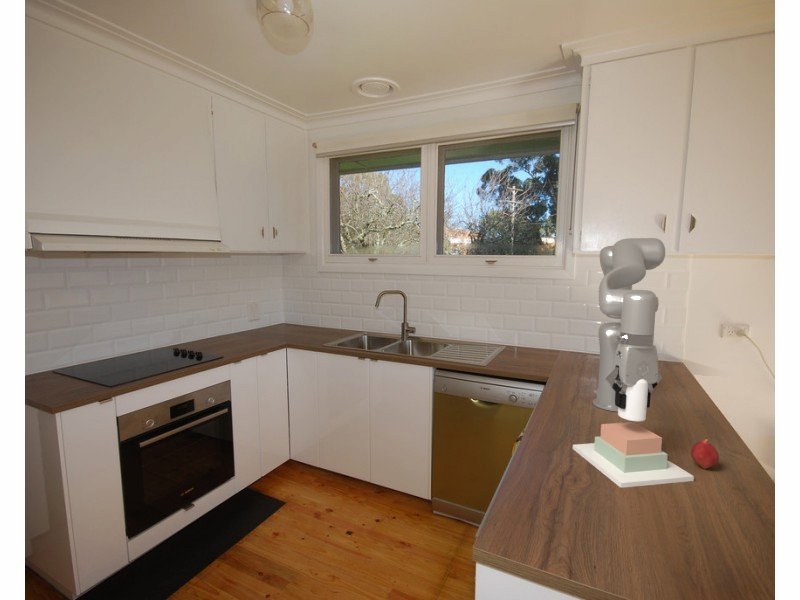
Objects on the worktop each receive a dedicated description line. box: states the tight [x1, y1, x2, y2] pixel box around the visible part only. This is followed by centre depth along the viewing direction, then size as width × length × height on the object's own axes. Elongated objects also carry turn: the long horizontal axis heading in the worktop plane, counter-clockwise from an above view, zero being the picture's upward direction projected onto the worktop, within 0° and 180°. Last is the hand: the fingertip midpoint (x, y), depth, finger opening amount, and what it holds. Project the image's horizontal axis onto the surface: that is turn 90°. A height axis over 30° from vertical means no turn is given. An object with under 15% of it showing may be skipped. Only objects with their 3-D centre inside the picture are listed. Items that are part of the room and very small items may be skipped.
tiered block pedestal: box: [572, 421, 695, 489], centre depth 107 cm, size 20×20×9 cm
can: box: [617, 379, 648, 423], centre depth 105 cm, size 6×6×12 cm
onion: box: [690, 439, 720, 470], centre depth 104 cm, size 6×6×8 cm
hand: (632, 405), depth 105 cm, fingers closed on can, 6 cm apart
